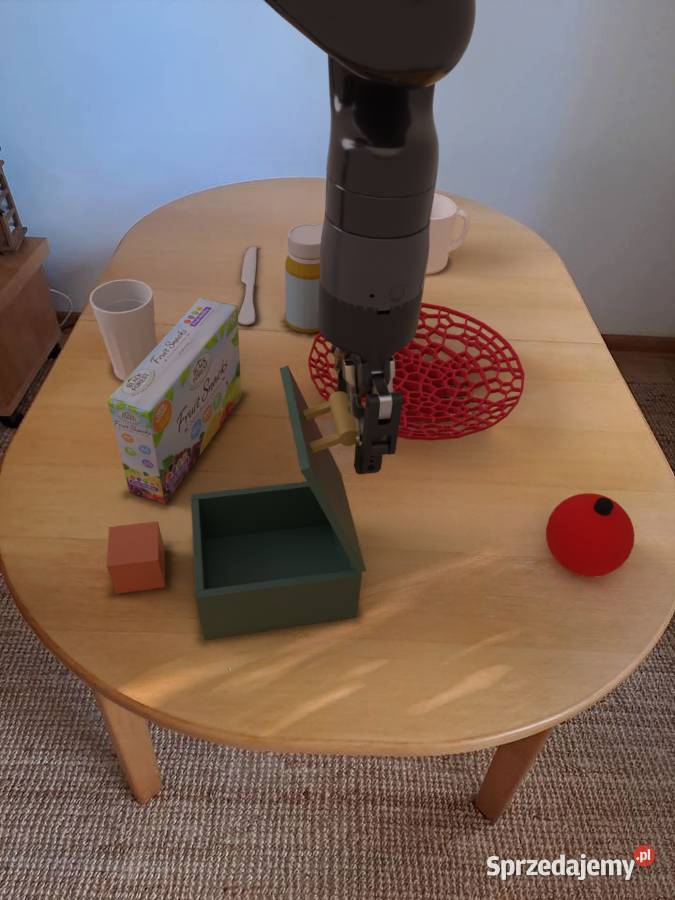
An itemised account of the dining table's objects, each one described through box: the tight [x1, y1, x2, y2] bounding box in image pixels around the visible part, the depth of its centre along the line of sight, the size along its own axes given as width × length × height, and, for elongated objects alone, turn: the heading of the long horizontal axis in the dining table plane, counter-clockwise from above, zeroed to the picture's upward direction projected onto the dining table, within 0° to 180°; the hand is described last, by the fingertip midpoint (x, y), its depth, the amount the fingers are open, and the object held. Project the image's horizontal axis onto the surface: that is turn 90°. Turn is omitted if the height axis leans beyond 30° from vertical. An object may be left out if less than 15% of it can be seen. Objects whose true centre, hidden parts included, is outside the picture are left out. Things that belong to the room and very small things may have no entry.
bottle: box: [284, 223, 323, 335], centre depth 100 cm, size 7×7×15 cm
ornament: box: [545, 492, 636, 578], centre depth 72 cm, size 9×9×10 cm
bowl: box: [307, 302, 525, 442], centre depth 93 cm, size 29×30×5 cm
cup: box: [89, 278, 158, 382], centre depth 91 cm, size 8×8×12 cm
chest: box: [190, 480, 363, 641], centre depth 70 cm, size 16×13×8 cm
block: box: [106, 520, 166, 595], centre depth 70 cm, size 5×5×5 cm
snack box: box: [107, 297, 243, 505], centre depth 81 cm, size 21×6×15 cm, turn 161°
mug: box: [426, 192, 471, 275], centre depth 116 cm, size 13×10×10 cm
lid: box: [279, 365, 367, 574], centre depth 62 cm, size 16×13×5 cm
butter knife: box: [238, 245, 257, 326], centre depth 112 cm, size 1×24×3 cm
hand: (357, 437), depth 59 cm, fingers open, 7 cm apart
